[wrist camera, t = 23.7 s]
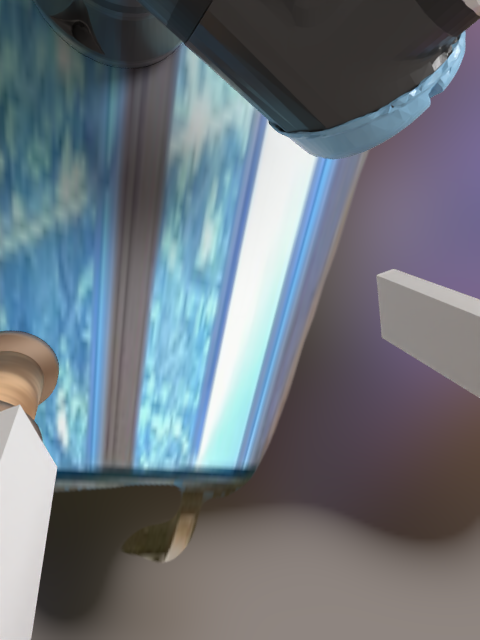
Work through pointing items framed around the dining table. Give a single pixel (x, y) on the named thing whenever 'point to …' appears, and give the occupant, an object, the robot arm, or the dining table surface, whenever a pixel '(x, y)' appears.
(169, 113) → the dining table surface
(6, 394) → the bobbin
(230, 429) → the dining table surface
